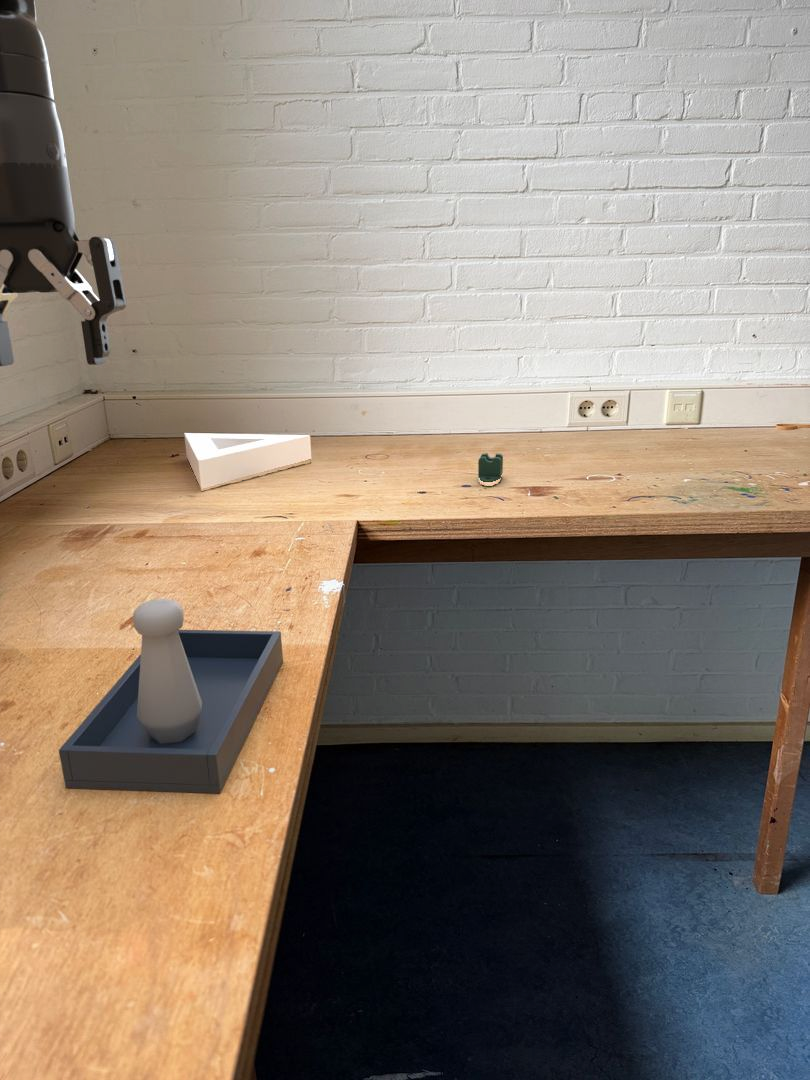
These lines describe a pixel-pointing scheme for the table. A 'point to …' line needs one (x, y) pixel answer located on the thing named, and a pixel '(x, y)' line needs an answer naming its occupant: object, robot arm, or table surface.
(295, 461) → the triangle block
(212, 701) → the dark blue tray
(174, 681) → the salt shaker
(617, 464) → the table surface
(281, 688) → the table surface
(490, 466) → the mount
